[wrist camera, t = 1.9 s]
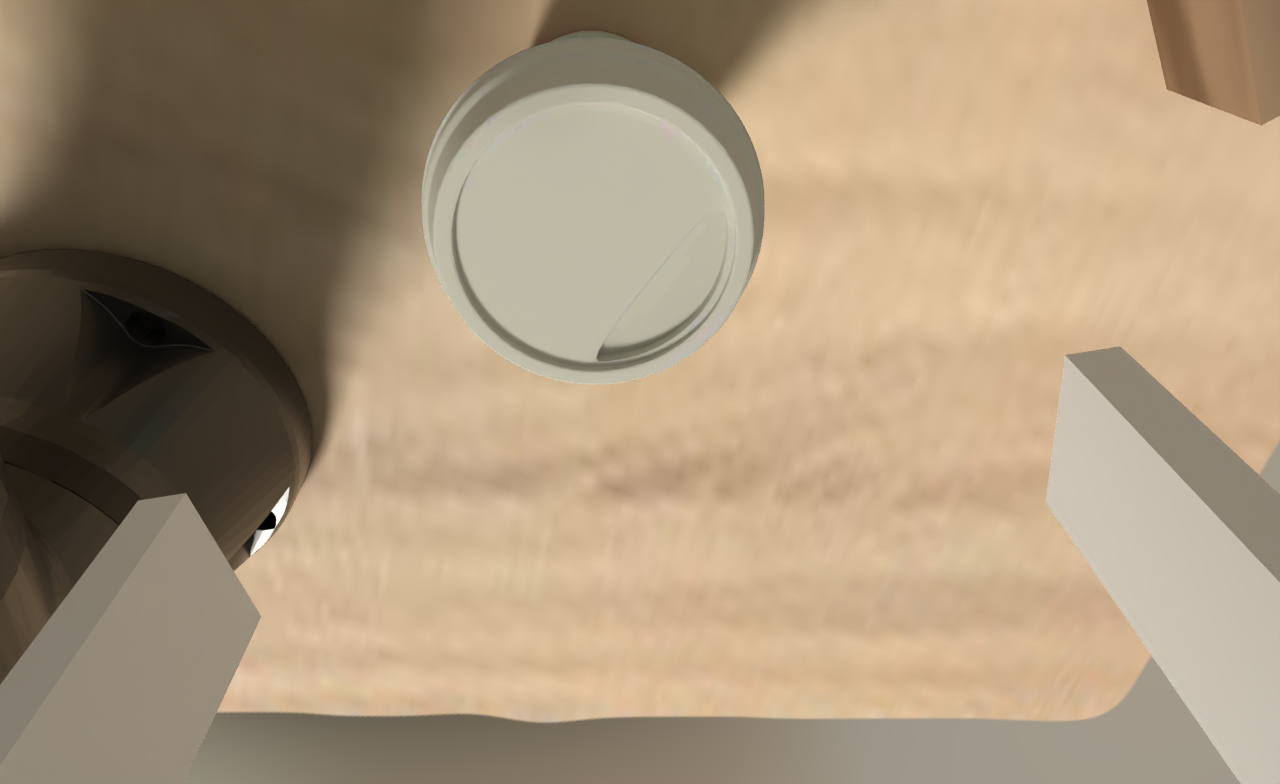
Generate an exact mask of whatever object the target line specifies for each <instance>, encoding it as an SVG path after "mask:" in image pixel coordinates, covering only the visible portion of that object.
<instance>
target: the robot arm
mask: <svg viewBox="0 0 1280 784" xmlns="http://www.w3.org/2000/svg"><path fill="white" fill-rule="evenodd" d="M311 452H312V430H311V423H310V418H309V413H308V410H307V406H306V403H305V400H304V398H303V395H302V393H301V390H300V388H299V386H298V384H297V382H296V380H295V378H294V376H293V375H292V373H291V371H290V370H289V368H288V367H287V365H286V363H285V362H284V360H283V359H282V358H281V356H280V355H279V354H278V352H277V351H276V350H275V349H274V347H273V346H272V345H271V344H270V343H269V342H268V340H267V339H266V338H265V337H264V336H263V335H262V334H261V333H260V332H259V331H258V330H257V329H256V328H255V327H254V326H253V325H252V324H250V323H249V322H248V321H247V320H246V319H245V318H244V317H243V316H241V315H240V314H239V313H238V312H236V311H235V310H234V309H233V308H231V307H230V306H228V305H227V304H226V303H224V302H223V301H221V300H220V299H219V298H217V297H215V296H214V295H212V294H211V293H209V292H207V291H206V290H204V289H202V288H200V287H199V286H197V285H195V284H193V283H192V282H189V281H187V280H185V279H183V278H181V277H179V276H177V275H175V274H173V273H170V272H168V271H165V270H163V269H161V268H158V267H155V266H152V265H149V264H147V263H143V262H140V261H137V260H133V259H130V258H126V257H121V256H117V255H113V254H107V253H101V252H95V251H85V250H70V249H54V250H39V251H31V252H25V253H19V254H15V255H11V256H7V257H4V258H1V259H0V784H183V783H184V781H185V779H186V776H187V774H188V772H189V770H190V768H191V766H192V764H193V761H194V759H195V757H196V754H197V753H198V750H199V749H200V746H201V744H202V742H203V740H204V738H205V736H206V733H207V731H208V729H209V727H210V725H211V723H212V721H213V719H214V716H215V714H216V712H217V710H218V708H219V706H220V704H221V701H222V699H223V697H224V695H225V693H226V691H227V689H228V686H229V684H230V682H231V680H232V678H233V676H234V674H235V672H236V669H237V667H238V665H239V663H240V661H241V659H242V657H243V654H244V652H245V650H246V648H247V646H248V644H249V642H250V639H251V637H252V635H253V633H254V631H255V629H256V627H257V624H258V622H259V620H260V618H261V615H260V614H259V612H258V610H257V609H256V607H255V606H254V604H253V602H252V601H251V599H250V597H249V596H248V594H247V592H246V591H245V589H244V587H243V586H242V584H241V583H240V581H239V579H238V578H237V576H236V574H235V573H234V570H236V569H237V568H238V567H239V566H240V565H241V564H242V563H244V562H245V561H246V560H247V559H248V558H249V557H250V556H251V555H252V554H254V553H255V552H256V551H258V550H259V549H260V548H261V547H262V546H263V545H264V544H265V543H266V542H267V541H268V540H269V539H270V538H271V537H272V536H273V535H274V534H275V532H276V531H277V530H278V528H279V527H280V526H281V524H282V523H283V521H284V520H285V518H286V517H287V515H288V513H289V512H290V509H291V507H292V505H293V503H294V501H295V499H296V497H297V495H298V493H299V490H300V488H301V486H302V484H303V482H304V480H305V477H306V475H307V471H308V468H309V464H310V460H311ZM1046 504H1047V505H1048V506H1049V508H1050V509H1051V511H1052V512H1053V514H1054V515H1055V517H1056V518H1057V519H1058V521H1059V522H1060V524H1061V525H1062V527H1063V528H1064V529H1065V531H1066V532H1067V534H1068V535H1069V537H1070V538H1071V540H1072V541H1073V542H1074V544H1075V545H1076V547H1077V548H1078V550H1079V551H1080V553H1081V554H1082V555H1083V557H1084V558H1085V560H1086V561H1087V563H1088V564H1089V566H1090V567H1091V568H1092V570H1093V571H1094V573H1095V574H1096V576H1097V577H1098V579H1099V580H1100V581H1101V583H1102V584H1103V586H1104V587H1105V589H1106V590H1107V592H1108V593H1109V594H1110V596H1111V597H1112V599H1113V600H1114V602H1115V603H1116V605H1117V606H1118V607H1119V609H1120V610H1121V612H1122V613H1123V615H1124V616H1125V618H1126V619H1127V620H1128V622H1129V623H1130V625H1131V626H1132V628H1133V629H1134V630H1135V632H1136V633H1137V635H1138V636H1139V638H1140V639H1141V641H1142V642H1143V643H1144V645H1145V646H1146V648H1147V649H1148V651H1149V652H1150V654H1151V655H1152V656H1153V658H1154V659H1155V661H1156V662H1157V664H1158V665H1159V666H1160V668H1161V669H1162V671H1163V672H1164V674H1165V675H1166V677H1167V678H1168V679H1169V681H1170V682H1171V684H1172V685H1173V687H1174V688H1175V690H1176V691H1177V693H1178V694H1179V695H1180V697H1181V698H1182V700H1183V701H1184V703H1185V704H1186V706H1187V707H1188V708H1189V710H1190V711H1191V713H1192V714H1193V716H1194V717H1195V719H1196V720H1197V721H1198V723H1199V724H1200V726H1201V727H1202V729H1203V730H1204V731H1205V733H1206V734H1207V736H1208V737H1209V739H1210V740H1211V741H1212V743H1213V744H1214V746H1215V747H1216V749H1217V750H1218V752H1219V753H1220V754H1221V756H1222V757H1223V759H1224V760H1225V762H1226V763H1227V765H1228V766H1229V768H1230V769H1231V770H1232V772H1233V773H1234V775H1235V776H1236V777H1237V779H1238V781H1239V782H1240V783H1241V784H1280V494H1279V493H1278V492H1276V491H1275V490H1274V489H1273V488H1272V487H1271V486H1270V485H1269V484H1268V483H1267V482H1266V481H1265V480H1264V479H1263V478H1261V477H1260V476H1259V475H1258V474H1257V473H1256V472H1255V471H1254V470H1253V469H1252V468H1251V467H1250V466H1249V465H1247V464H1246V463H1245V462H1244V461H1243V460H1242V459H1241V458H1240V457H1239V456H1238V455H1237V454H1236V453H1235V452H1233V451H1232V450H1231V449H1230V448H1229V447H1228V446H1227V445H1226V444H1225V443H1224V442H1223V441H1222V440H1220V439H1219V438H1218V437H1217V436H1216V435H1215V434H1214V433H1213V432H1212V431H1211V430H1210V429H1209V428H1208V427H1206V426H1205V425H1204V424H1203V423H1202V422H1201V421H1200V420H1199V419H1198V418H1197V417H1196V416H1195V415H1194V414H1192V413H1191V412H1190V411H1189V410H1188V409H1187V408H1186V407H1185V406H1184V405H1183V404H1182V403H1181V402H1180V401H1178V400H1177V399H1176V398H1175V397H1174V396H1173V395H1172V394H1171V393H1170V392H1169V391H1168V390H1167V389H1166V388H1164V387H1163V386H1162V385H1161V384H1160V383H1159V382H1158V381H1157V380H1156V379H1155V378H1154V377H1153V376H1152V375H1150V374H1149V373H1148V372H1147V371H1146V370H1145V369H1144V368H1143V367H1142V366H1141V365H1140V364H1139V363H1137V362H1136V361H1135V360H1134V359H1133V358H1132V357H1131V356H1130V355H1129V354H1128V353H1127V352H1126V351H1125V350H1123V349H1122V348H1121V347H1114V348H1108V349H1102V350H1095V351H1089V352H1082V353H1076V354H1070V355H1065V360H1064V367H1063V375H1062V382H1061V390H1060V397H1059V405H1058V412H1057V420H1056V427H1055V435H1054V442H1053V449H1052V457H1051V464H1050V472H1049V479H1048V487H1047V494H1046Z"/></svg>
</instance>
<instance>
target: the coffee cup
mask: <svg viewBox="0 0 1280 784" xmlns="http://www.w3.org/2000/svg"><path fill="white" fill-rule="evenodd" d="M422 224H423V232H424V238H425V243H426V248H427V251H428V255H429V258H430V261H431V264H432V267H433V269H434V272H435V274H436V276H437V278H438V280H439V282H440V284H441V286H442V288H443V289H444V291H445V293H446V295H447V296H448V298H449V299H450V301H451V303H452V305H453V306H454V308H455V309H456V311H457V312H458V314H459V315H460V317H461V318H462V320H463V321H464V323H465V324H466V325H467V326H468V327H469V328H470V329H471V331H472V332H473V333H474V334H475V335H476V336H477V337H478V338H479V339H480V340H481V341H482V342H484V343H485V344H486V345H487V346H488V347H489V348H490V349H492V350H493V351H495V352H496V353H497V354H499V355H500V356H502V357H503V358H505V359H506V360H507V361H509V362H511V363H513V364H515V365H517V366H519V367H521V368H523V369H525V370H527V371H530V372H532V373H535V374H537V375H540V376H543V377H547V378H550V379H554V380H558V381H563V382H568V383H577V384H592V385H599V384H614V383H621V382H627V381H632V380H636V379H640V378H644V377H647V376H650V375H652V374H655V373H658V372H661V371H663V370H665V369H667V368H669V367H671V366H673V365H675V364H677V363H679V362H680V361H682V360H683V359H685V358H687V357H688V356H690V355H691V354H692V353H694V352H695V351H696V350H698V349H699V348H700V347H702V346H703V345H704V344H705V343H706V342H707V341H708V340H709V339H710V338H711V337H712V336H713V335H714V334H715V333H716V332H717V331H718V330H719V328H720V327H721V326H722V325H723V323H724V322H725V321H726V320H727V318H728V317H729V315H730V314H731V312H732V311H733V309H734V308H735V306H736V304H737V302H738V300H739V298H740V296H741V295H742V293H743V291H744V289H745V287H746V286H747V284H748V282H749V280H750V278H751V275H752V273H753V270H754V268H755V265H756V262H757V259H758V255H759V252H760V247H761V242H762V237H763V228H764V188H763V180H762V174H761V169H760V165H759V161H758V158H757V155H756V152H755V149H754V146H753V144H752V141H751V139H750V137H749V135H748V133H747V131H746V129H745V127H744V125H743V123H742V121H741V120H740V118H739V117H738V115H737V114H736V112H735V111H734V109H733V108H732V107H731V105H730V104H729V103H728V102H727V100H726V99H725V98H724V97H723V96H722V94H721V93H720V92H719V91H718V90H717V89H716V88H715V87H714V86H713V85H712V84H711V83H709V82H708V81H707V80H706V79H705V78H704V77H702V76H701V75H700V74H699V73H697V72H696V71H695V70H693V69H692V68H690V67H689V66H687V65H686V64H684V63H682V62H681V61H679V60H677V59H675V58H673V57H672V56H670V55H667V54H665V53H663V52H661V51H658V50H656V49H653V48H650V47H648V46H645V45H641V44H638V43H634V42H632V41H631V40H629V39H627V38H625V37H622V36H620V35H617V34H614V33H610V32H605V31H597V30H585V31H578V32H573V33H569V34H566V35H563V36H560V37H558V38H556V39H554V40H552V41H551V42H548V43H544V44H541V45H538V46H534V47H532V48H529V49H526V50H524V51H521V52H519V53H517V54H515V55H513V56H511V57H509V58H507V59H505V60H503V61H502V62H500V63H498V64H497V65H495V66H494V67H492V68H491V69H489V70H488V71H487V72H485V73H484V74H483V75H482V76H480V77H479V78H478V79H477V80H476V81H475V82H473V83H472V84H471V85H470V86H469V87H468V88H467V89H466V90H465V91H464V93H463V94H462V95H461V96H460V97H459V98H458V100H457V101H456V102H455V103H454V105H453V106H452V107H451V109H450V110H449V112H448V113H447V115H446V116H445V118H444V120H443V121H442V123H441V125H440V127H439V129H438V131H437V133H436V135H435V137H434V140H433V142H432V145H431V148H430V151H429V154H428V157H427V161H426V165H425V170H424V175H423V183H422Z"/></svg>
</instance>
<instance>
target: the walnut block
mask: <svg viewBox="0 0 1280 784" xmlns="http://www.w3.org/2000/svg"><path fill="white" fill-rule="evenodd" d="M1147 3H1148V7H1149V12H1150V16H1151V21H1152V25H1153V30H1154V34H1155V38H1156V43H1157V47H1158V52H1159V56H1160V61H1161V65H1162V70H1163V74H1164V79H1165V83H1166V87H1167V90H1170V91H1173V92H1175V93H1178V94H1181V95H1183V96H1186V97H1188V98H1191V99H1194V100H1196V101H1199V102H1202V103H1204V104H1207V105H1209V106H1212V107H1215V108H1217V109H1220V110H1223V111H1225V112H1228V113H1230V114H1233V115H1236V116H1238V117H1241V118H1244V119H1246V120H1249V121H1251V122H1254V123H1257V124H1259V125H1263V124H1265V123H1267V122H1268V121H1270V120H1272V119H1274V118H1276V117H1278V116H1280V0H1147Z"/></svg>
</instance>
